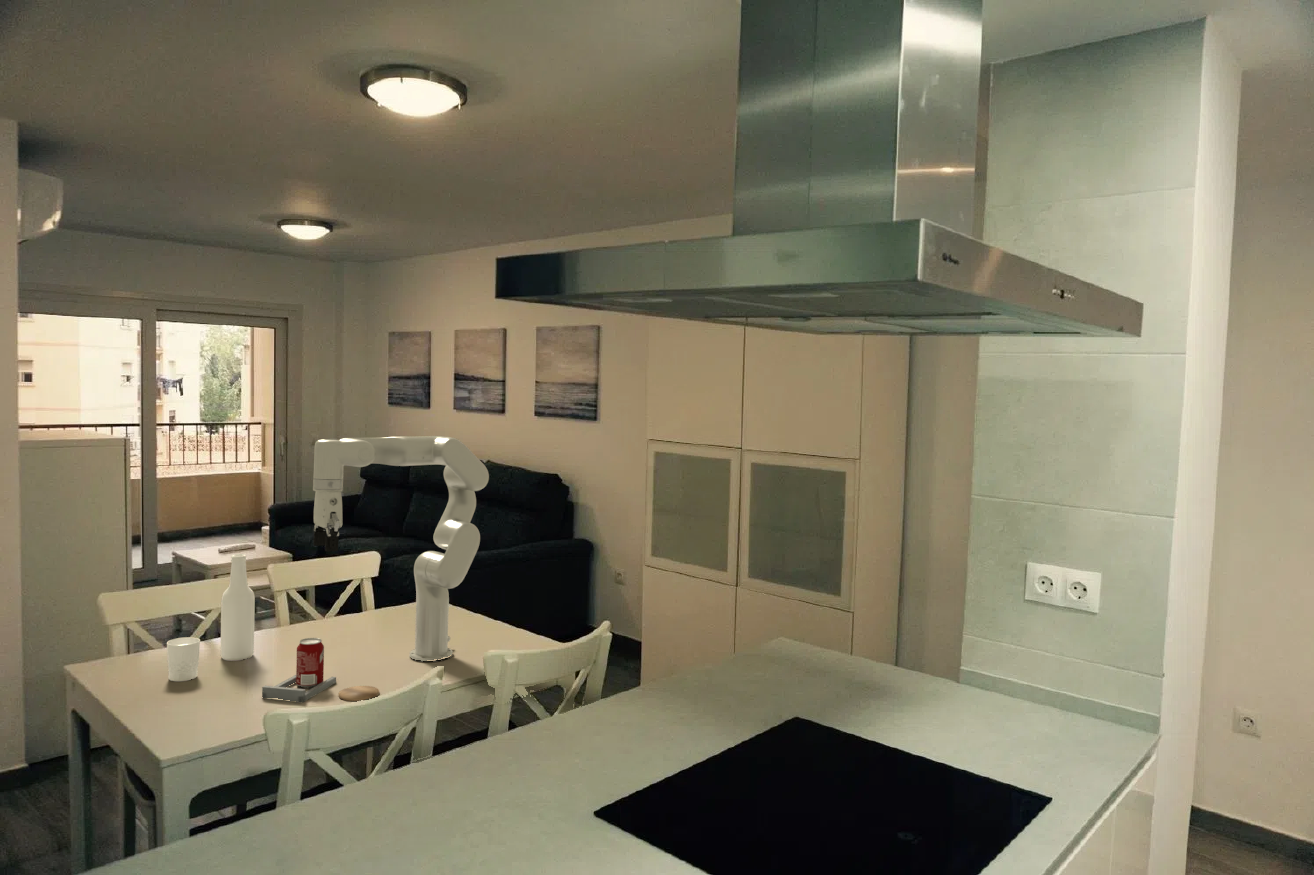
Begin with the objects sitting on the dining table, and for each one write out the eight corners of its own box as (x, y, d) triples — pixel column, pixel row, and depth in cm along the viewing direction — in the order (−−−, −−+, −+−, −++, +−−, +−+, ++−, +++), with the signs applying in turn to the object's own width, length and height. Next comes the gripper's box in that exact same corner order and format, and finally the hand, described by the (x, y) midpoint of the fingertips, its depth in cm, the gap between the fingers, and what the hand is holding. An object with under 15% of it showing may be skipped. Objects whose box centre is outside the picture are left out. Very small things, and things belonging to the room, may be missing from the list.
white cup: (165, 683, 227) (166, 646, 226) (166, 675, 234) (167, 638, 233) (199, 680, 231) (199, 643, 230) (199, 671, 238) (200, 635, 237)
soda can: (317, 689, 227) (317, 644, 226) (291, 688, 227) (292, 643, 226) (327, 681, 233) (328, 637, 233) (302, 680, 234) (303, 636, 233)
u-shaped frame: (298, 678, 234) (298, 667, 234) (336, 682, 233) (336, 671, 233) (262, 698, 219) (262, 686, 219) (302, 702, 217) (302, 690, 217)
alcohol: (213, 659, 249) (214, 556, 247) (235, 651, 257) (237, 551, 256) (238, 662, 246) (240, 559, 245) (260, 654, 255) (262, 553, 253)
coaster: (350, 686, 230) (350, 684, 230) (385, 689, 228) (385, 687, 228) (330, 699, 220) (330, 696, 220) (367, 702, 218) (367, 700, 218)
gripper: (353, 488, 228) (350, 552, 229) (331, 482, 241) (329, 542, 242) (324, 488, 223) (321, 554, 224) (303, 482, 237) (301, 544, 237)
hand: (325, 548), depth 233 cm, fingers open, 9 cm apart
